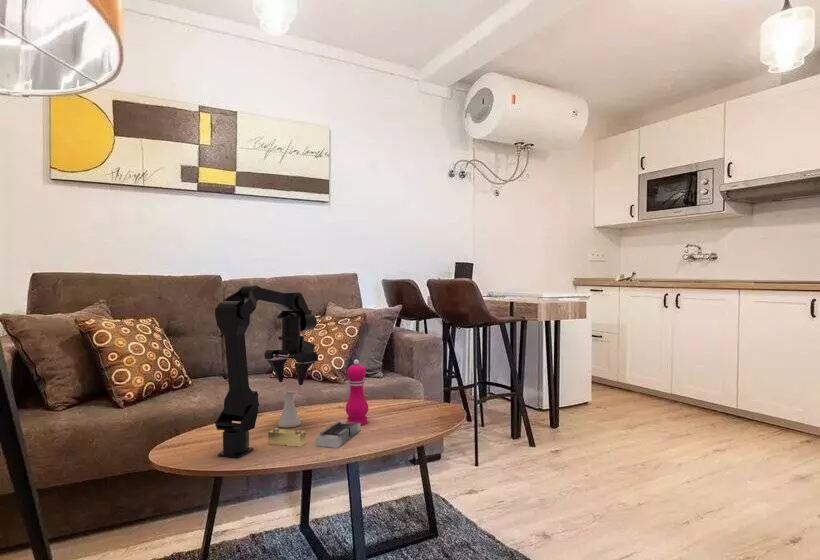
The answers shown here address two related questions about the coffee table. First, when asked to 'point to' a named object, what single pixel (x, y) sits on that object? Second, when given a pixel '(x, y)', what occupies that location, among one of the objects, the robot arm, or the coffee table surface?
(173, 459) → the coffee table surface
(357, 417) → the pepper mill
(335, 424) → the grey metal base
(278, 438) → the link bar
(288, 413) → the flask
